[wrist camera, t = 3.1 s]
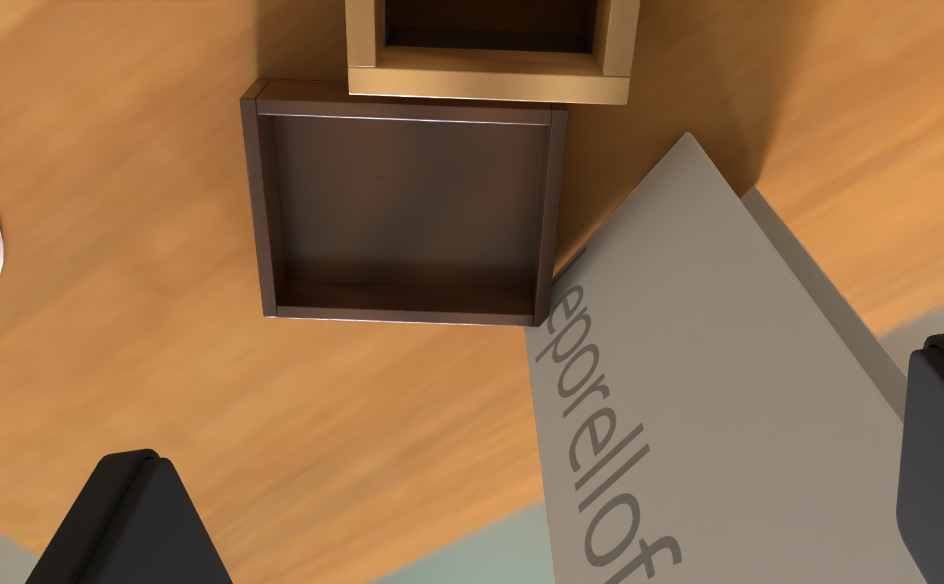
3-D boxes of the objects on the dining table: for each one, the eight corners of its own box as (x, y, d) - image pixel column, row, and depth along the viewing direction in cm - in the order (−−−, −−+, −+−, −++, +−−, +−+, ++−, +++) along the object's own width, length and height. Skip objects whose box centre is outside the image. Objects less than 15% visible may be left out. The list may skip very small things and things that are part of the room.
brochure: (687, 130, 44) (1018, 587, 18) (758, 187, 45) (1155, 680, 19) (522, 311, 49) (588, 859, 23) (590, 355, 51) (723, 911, 25)
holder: (277, 286, 49) (263, 317, 46) (256, 78, 43) (238, 98, 39) (543, 295, 49) (547, 327, 46) (562, 89, 43) (568, 110, 40)
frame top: (360, 70, 38) (348, 94, 35) (356, -68, 35) (342, -56, 32) (614, 79, 38) (627, 105, 35) (631, -57, 35) (647, -44, 32)
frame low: (371, 49, 42) (360, 70, 38) (367, -78, 39) (356, -68, 35) (603, 58, 42) (614, 79, 38) (617, -68, 39) (631, -57, 35)
